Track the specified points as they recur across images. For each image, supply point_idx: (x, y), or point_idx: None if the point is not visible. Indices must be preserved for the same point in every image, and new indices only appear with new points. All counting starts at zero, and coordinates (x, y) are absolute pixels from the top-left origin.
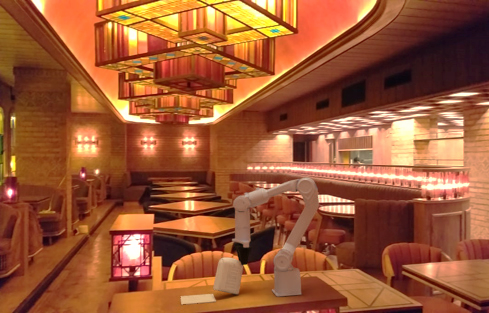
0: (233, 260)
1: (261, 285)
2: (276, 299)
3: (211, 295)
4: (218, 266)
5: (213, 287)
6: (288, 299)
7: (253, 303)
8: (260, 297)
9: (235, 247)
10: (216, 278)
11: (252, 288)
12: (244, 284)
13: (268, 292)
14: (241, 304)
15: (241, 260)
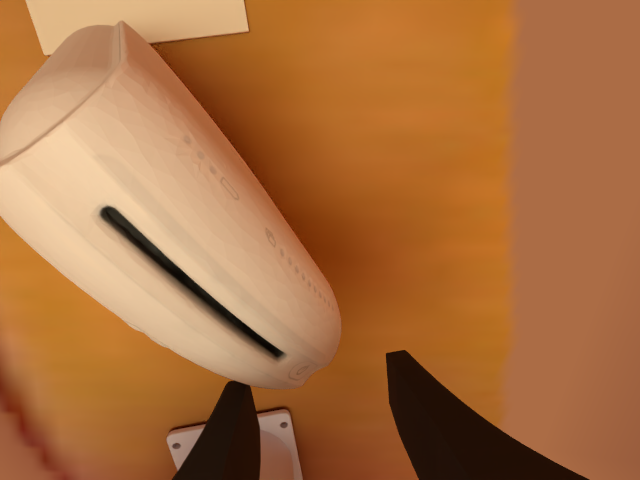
0: (149, 337)
1: None
2: (126, 425)
3: (198, 16)
4: (55, 64)
5: (119, 21)
6: (127, 474)
7: (39, 313)
8: (165, 351)
9: (572, 473)
10: (62, 44)
11: (357, 311)
12: (456, 265)
13: (261, 391)
14: (9, 243)
15: (208, 428)
